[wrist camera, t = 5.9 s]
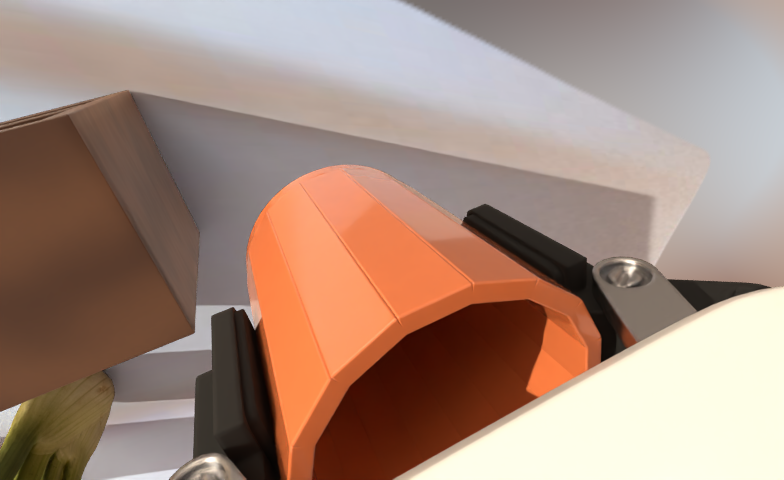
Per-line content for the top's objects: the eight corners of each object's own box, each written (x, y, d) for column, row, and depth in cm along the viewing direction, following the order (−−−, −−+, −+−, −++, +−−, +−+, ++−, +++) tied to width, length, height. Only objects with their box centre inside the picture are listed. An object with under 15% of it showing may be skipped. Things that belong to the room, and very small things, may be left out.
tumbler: (210, 205, 12) (216, 400, 5) (407, 137, 14) (606, 221, 7) (286, 361, 15) (350, 611, 8) (439, 292, 17) (598, 455, 10)
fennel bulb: (35, 357, 32) (-48, 500, 21) (111, 345, 33) (68, 472, 23) (53, 415, 34) (-14, 571, 24) (124, 402, 36) (89, 540, 25)
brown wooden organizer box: (-126, 154, 24) (-450, 248, 12) (128, 89, 28) (67, 113, 16) (-1, 303, 29) (-145, 470, 17) (200, 233, 33) (195, 333, 21)
